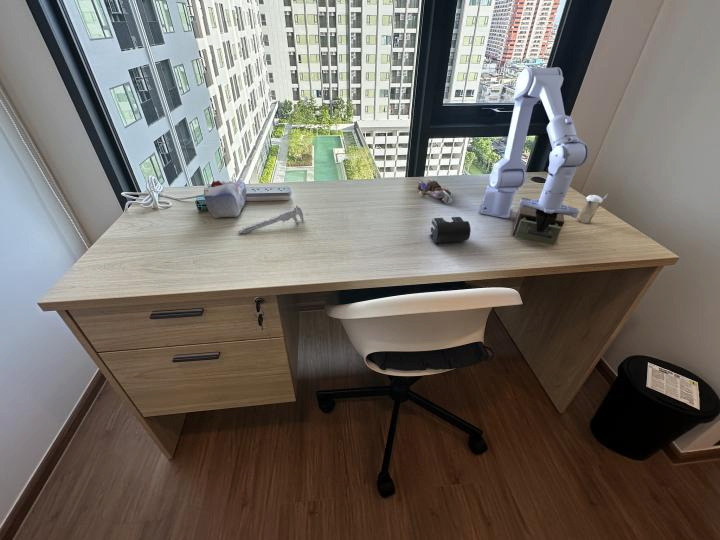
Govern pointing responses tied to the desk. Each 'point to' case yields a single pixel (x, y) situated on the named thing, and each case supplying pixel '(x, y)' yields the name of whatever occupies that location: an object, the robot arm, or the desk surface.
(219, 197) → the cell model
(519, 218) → the cabinet
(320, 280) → the desk surface
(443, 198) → the warrior figurine
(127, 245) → the desk surface
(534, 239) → the drawer
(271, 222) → the caliper
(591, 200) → the milkshake
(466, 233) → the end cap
